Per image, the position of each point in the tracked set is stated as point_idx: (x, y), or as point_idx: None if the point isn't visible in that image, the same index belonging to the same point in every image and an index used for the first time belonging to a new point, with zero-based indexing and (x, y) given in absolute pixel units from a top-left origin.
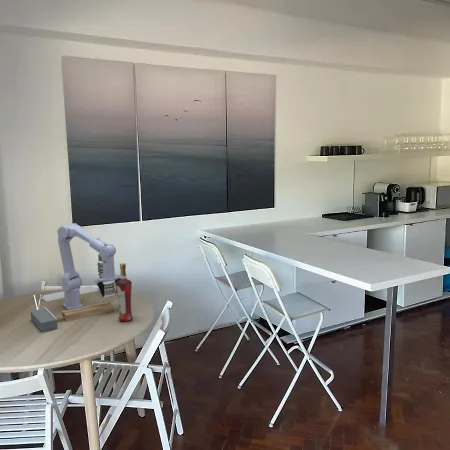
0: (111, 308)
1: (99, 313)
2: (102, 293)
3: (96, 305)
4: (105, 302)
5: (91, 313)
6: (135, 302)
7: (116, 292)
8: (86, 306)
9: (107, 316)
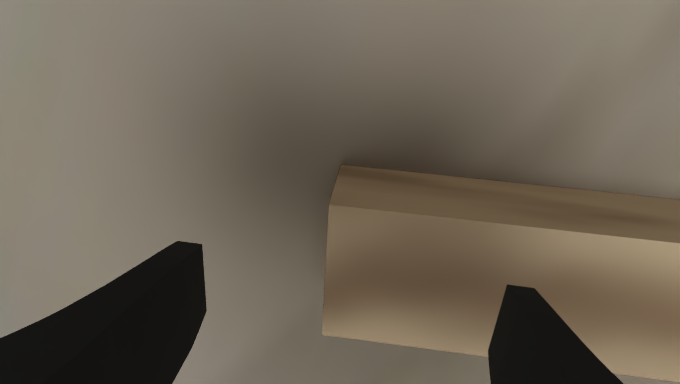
0: (355, 184)
1: (523, 187)
2: (585, 345)
3: None
4: (362, 335)
5: (642, 209)
6: (28, 235)
7: (197, 306)
8: (625, 369)
9: (501, 29)
